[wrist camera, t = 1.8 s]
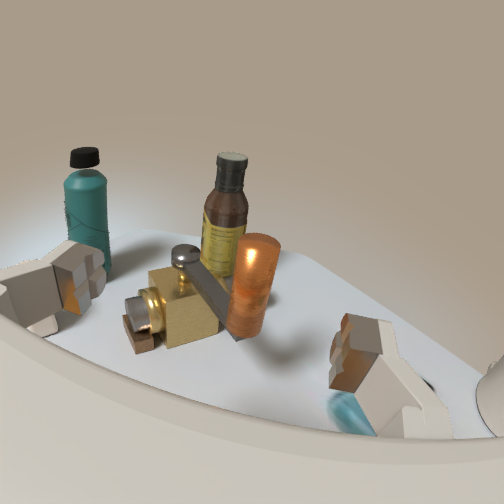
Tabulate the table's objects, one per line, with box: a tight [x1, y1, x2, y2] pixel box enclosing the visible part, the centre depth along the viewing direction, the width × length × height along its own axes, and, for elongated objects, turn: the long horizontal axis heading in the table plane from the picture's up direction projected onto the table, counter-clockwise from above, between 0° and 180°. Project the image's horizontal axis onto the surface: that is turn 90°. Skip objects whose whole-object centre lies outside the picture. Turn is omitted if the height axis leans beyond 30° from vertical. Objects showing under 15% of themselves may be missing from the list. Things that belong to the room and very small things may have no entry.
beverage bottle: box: [64, 147, 112, 274], centre depth 40 cm, size 6×7×20 cm
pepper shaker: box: [19, 260, 58, 337], centre depth 32 cm, size 4×4×10 cm
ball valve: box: [122, 264, 233, 354], centre depth 39 cm, size 18×6×10 cm, turn 123°
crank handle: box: [171, 233, 281, 342], centre depth 29 cm, size 15×3×9 cm, turn 33°
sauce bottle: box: [200, 152, 248, 277], centre depth 45 cm, size 6×6×20 cm
